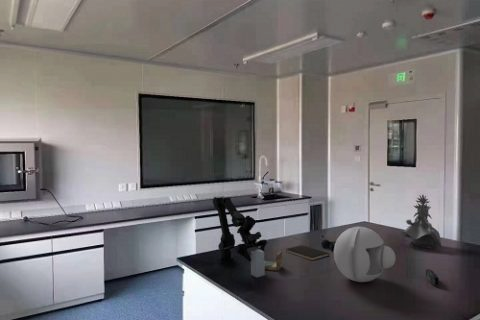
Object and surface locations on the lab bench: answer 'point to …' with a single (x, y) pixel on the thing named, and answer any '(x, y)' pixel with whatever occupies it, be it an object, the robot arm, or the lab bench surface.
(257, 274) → the grey tapered block
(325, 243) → the headset
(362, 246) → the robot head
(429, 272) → the mobile phone
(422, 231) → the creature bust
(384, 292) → the lab bench surface
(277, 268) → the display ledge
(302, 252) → the hardcover book
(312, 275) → the lab bench surface
